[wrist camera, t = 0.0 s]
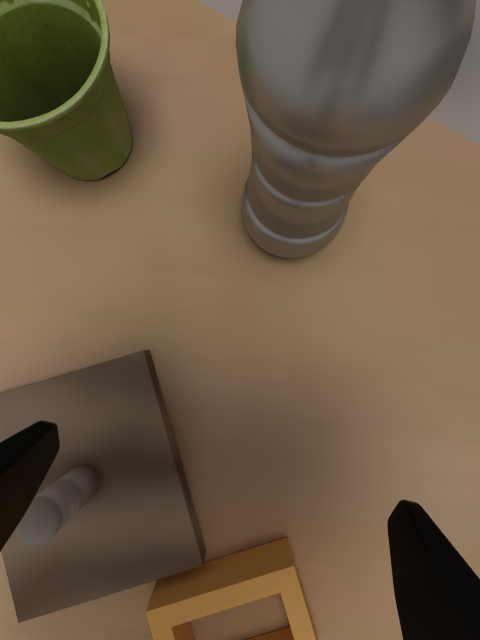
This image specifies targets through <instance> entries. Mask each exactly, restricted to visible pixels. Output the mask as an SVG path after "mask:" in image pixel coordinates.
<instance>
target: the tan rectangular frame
mask: <svg viewBox="0 0 480 640" xmlns="http://www.w3.org/2000/svg"><path fill="white" fill-rule="evenodd" d="M278 593H281V596H282V600H283V603H284V607H285V610H286V613H287V617H288V620H289V624H290V626H289V627H286V628H282V629H279V630H276V631H273V632H270V633H267V634H263V635H260V636H257V637H254V638H251V639H247V640H318V638H317V634H316V631H315V627H314V624H313V621H312V617H311V614H310V611H309V607H308V604H307V601H306V597H305V594H304V591H303V587H302V584H301V581H300V577H299V574H298V571H297V567H296V564H295V561H294V557H293V554H292V551H291V547H290V544H289V541H288V537H286V538H283V539H280V540H276V541H273V542H270V543H267V544H263V545H260V546H257V547H254V548H251V549H247V550H244V551H241V552H238V553H234V554H231V555H228V556H225V557H222V558H218V559H215V560H212V561H209V562H206V563H204V564H203V566H199V567H196V568H193V569H190V570H187V571H183V572H180V573H177V574H174V575H171V576H167V577H164V578H161V579H158V580H157V583H156V586H155V588H154V591H153V594H152V596H151V599H150V602H149V605H148V607H147V610H146V615H147V618H148V622H149V626H150V630H151V634H152V637H153V640H194V636H193V633H192V629H191V625H190V622H189V621H192V620H195V619H198V618H201V617H205V616H208V615H211V614H214V613H217V612H221V611H224V610H227V609H230V608H233V607H237V606H240V605H243V604H246V603H249V602H253V601H256V600H259V599H262V598H265V597H268V596H272V595H275V594H278Z"/></svg>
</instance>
